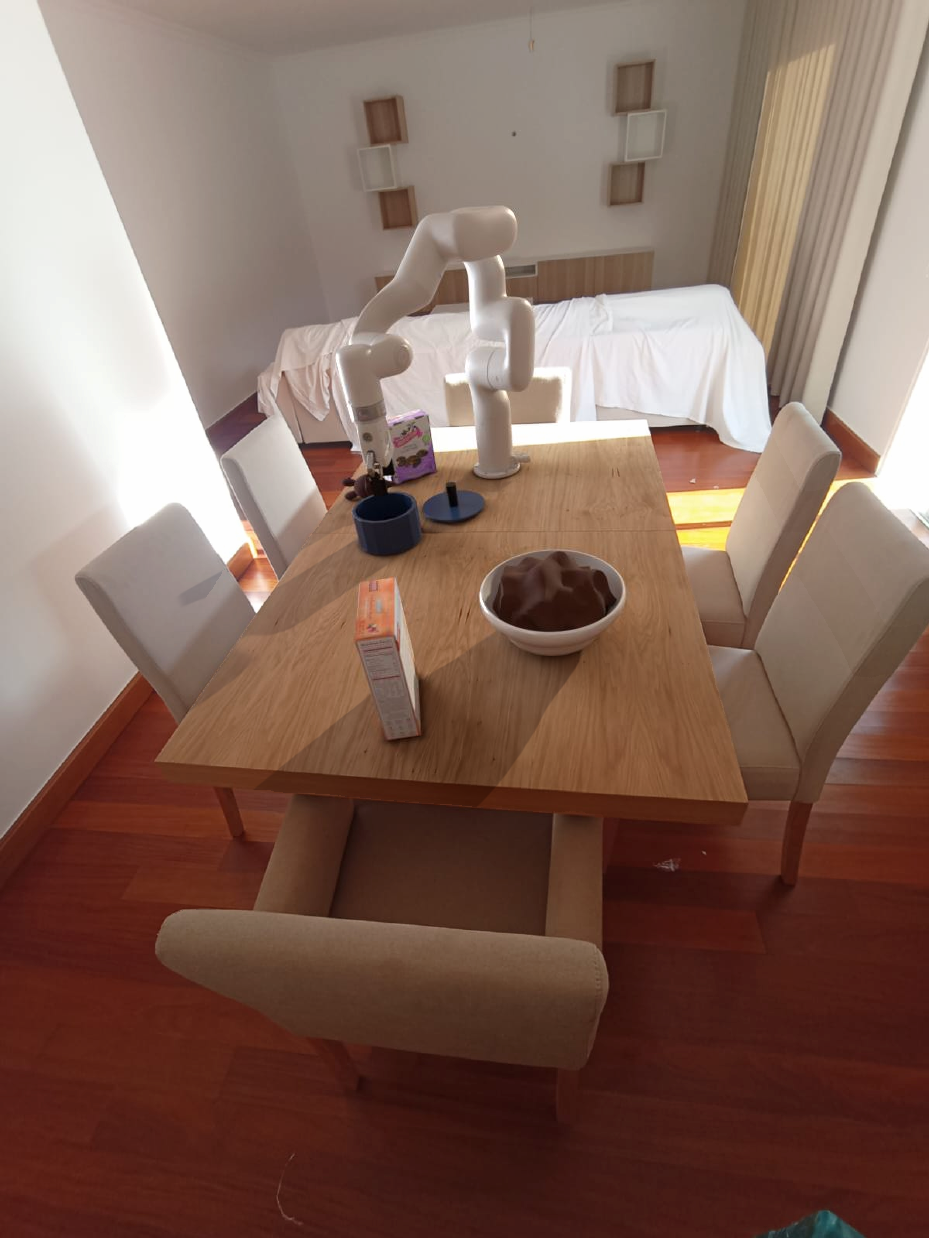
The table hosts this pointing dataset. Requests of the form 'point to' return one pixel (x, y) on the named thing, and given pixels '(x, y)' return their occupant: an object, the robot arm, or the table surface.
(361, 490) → the icecream
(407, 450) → the candy box
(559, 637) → the chocolate pudding bowl
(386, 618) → the cracker box
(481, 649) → the table surface
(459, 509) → the lid
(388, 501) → the pot
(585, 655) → the table surface
